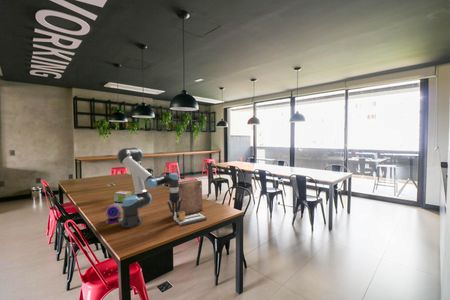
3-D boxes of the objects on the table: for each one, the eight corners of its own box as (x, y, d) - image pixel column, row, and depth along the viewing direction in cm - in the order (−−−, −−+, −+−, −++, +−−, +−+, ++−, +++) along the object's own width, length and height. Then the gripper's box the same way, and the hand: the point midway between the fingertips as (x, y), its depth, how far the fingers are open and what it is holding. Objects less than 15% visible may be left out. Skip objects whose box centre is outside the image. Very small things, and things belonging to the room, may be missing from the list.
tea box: (114, 206, 231) (113, 192, 230) (121, 203, 241) (120, 190, 240) (125, 207, 227) (125, 193, 226) (132, 204, 236) (131, 191, 235)
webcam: (104, 224, 182) (103, 207, 181) (108, 219, 194) (107, 202, 193) (121, 222, 185) (120, 205, 185) (123, 217, 198) (123, 201, 197)
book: (197, 208, 220) (196, 179, 219) (202, 210, 213) (201, 180, 212) (174, 214, 204) (173, 182, 202) (179, 216, 197) (178, 184, 195)
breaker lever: (178, 219, 185) (178, 211, 184) (183, 218, 187) (183, 210, 187) (180, 220, 181) (180, 212, 181) (185, 219, 184) (184, 211, 183)
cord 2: (180, 225, 177) (180, 223, 177) (205, 219, 189) (205, 217, 189) (181, 226, 175) (181, 224, 175) (206, 219, 188) (206, 218, 188)
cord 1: (174, 219, 190) (174, 217, 190) (197, 214, 203) (197, 212, 202) (174, 220, 189) (174, 218, 189) (198, 214, 201) (198, 213, 201)
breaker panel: (175, 220, 187) (175, 218, 187) (199, 215, 199) (199, 213, 199) (180, 225, 178) (180, 222, 178) (205, 219, 190) (205, 216, 190)
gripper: (167, 194, 173) (168, 222, 174) (183, 191, 180) (184, 219, 181) (165, 192, 179) (166, 219, 180) (179, 189, 186) (180, 216, 187)
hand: (175, 219), depth 181 cm, fingers closed
